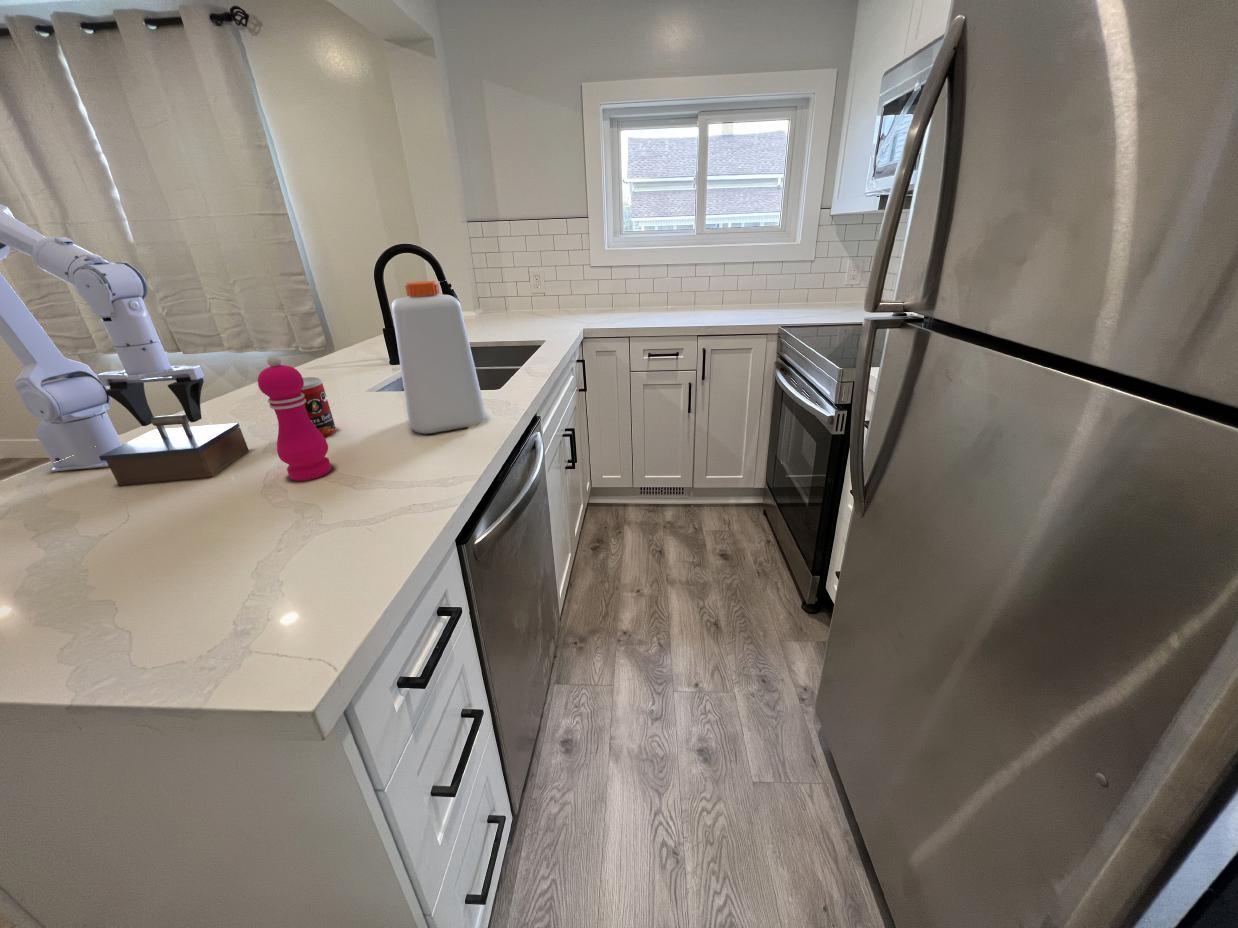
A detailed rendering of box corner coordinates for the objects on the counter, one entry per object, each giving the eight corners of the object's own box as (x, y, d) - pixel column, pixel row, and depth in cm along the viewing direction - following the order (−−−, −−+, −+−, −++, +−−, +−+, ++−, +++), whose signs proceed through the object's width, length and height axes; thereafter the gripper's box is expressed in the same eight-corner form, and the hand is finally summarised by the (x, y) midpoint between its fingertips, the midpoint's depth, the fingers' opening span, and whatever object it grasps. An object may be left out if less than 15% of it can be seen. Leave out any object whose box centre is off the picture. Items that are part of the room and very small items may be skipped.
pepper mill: (313, 483, 81) (272, 361, 72) (276, 481, 82) (231, 361, 74) (344, 465, 87) (310, 350, 79) (309, 463, 88) (271, 350, 80)
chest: (212, 476, 85) (201, 451, 83) (118, 485, 83) (105, 459, 81) (249, 450, 95) (240, 427, 93) (165, 457, 93) (154, 433, 91)
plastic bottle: (408, 416, 110) (377, 282, 98) (477, 405, 115) (456, 277, 104) (413, 438, 97) (379, 288, 86) (490, 425, 103) (468, 281, 91)
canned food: (304, 444, 97) (286, 390, 92) (287, 436, 101) (269, 384, 97) (344, 432, 102) (328, 380, 98) (326, 425, 107) (310, 375, 102)
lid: (198, 452, 82) (187, 426, 80) (100, 460, 80) (87, 434, 78) (240, 426, 93) (231, 403, 91) (154, 433, 91) (143, 409, 89)
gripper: (66, 351, 76) (108, 434, 82) (169, 345, 78) (203, 426, 83) (103, 343, 83) (139, 420, 88) (197, 337, 84) (227, 413, 90)
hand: (172, 422), depth 86 cm, fingers open, 7 cm apart
